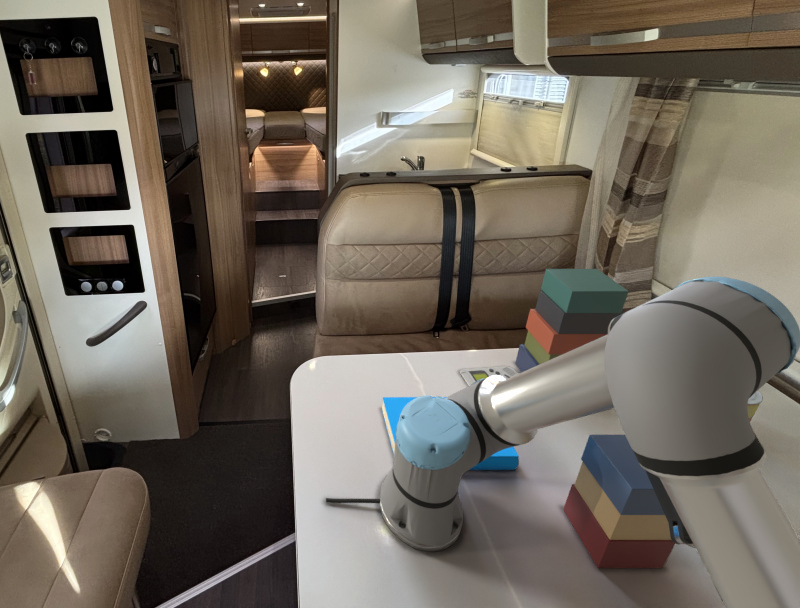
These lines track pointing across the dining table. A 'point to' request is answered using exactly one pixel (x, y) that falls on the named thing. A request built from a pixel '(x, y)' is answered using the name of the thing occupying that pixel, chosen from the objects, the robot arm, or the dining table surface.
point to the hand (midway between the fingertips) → (660, 407)
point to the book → (395, 405)
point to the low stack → (617, 508)
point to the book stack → (569, 314)
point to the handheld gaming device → (486, 373)
